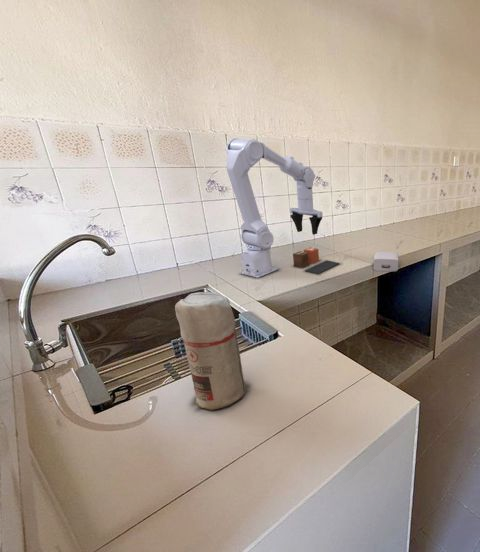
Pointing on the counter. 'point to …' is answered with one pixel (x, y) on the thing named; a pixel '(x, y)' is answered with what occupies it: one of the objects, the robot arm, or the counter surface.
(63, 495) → the counter surface
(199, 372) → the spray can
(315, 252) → the orange block
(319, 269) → the small dark keyboard
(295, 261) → the brown block
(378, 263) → the charger
